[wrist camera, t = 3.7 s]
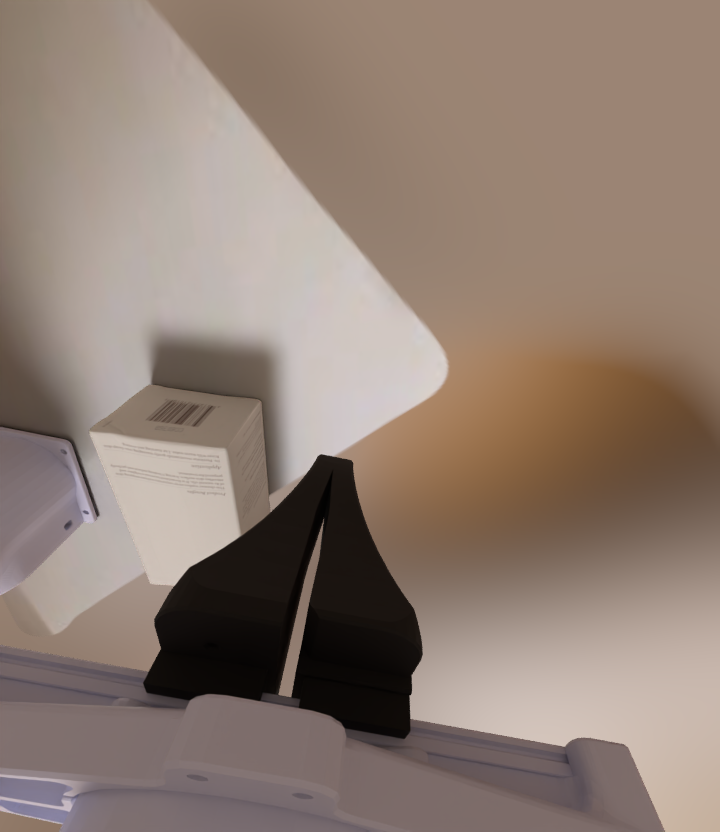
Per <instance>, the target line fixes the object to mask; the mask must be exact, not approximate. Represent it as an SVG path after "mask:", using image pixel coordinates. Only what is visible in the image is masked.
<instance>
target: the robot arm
mask: <svg viewBox="0 0 720 832" xmlns="http://www.w3.org/2000/svg"><path fill="white" fill-rule="evenodd" d="M323 519H324V524H323V532H322V541H321V550H320V558H319V562H318V566H317V571H316V575H315V580H314V584H313V589H312V593H311V597H310V602H309V607H308V612H307V618H306V624H305V629H304V635H303V640H302V645H301V650H300V654H299V659H298V664H297V669H296V674H295V680H294V686H293V691H292V697H286V696H280V695H278V693H279V689H280V685H281V680H282V675H283V671H284V667H285V662H286V658H287V653H288V649H289V645H290V640H291V635H292V631H293V627H294V623H295V618H296V614H297V609H298V605H299V601H300V597H301V592H302V588H303V584H304V579H305V576H306V572H307V569H308V565H309V562H310V559H311V556H312V553H313V550H314V547H315V544H316V541H317V538H318V535H319V532H320V529H321V526H322V523H323ZM96 520H97V516H96V513H95V510H94V507H93V504H92V501H91V499H90V496H89V493H88V490H87V487H86V484H85V481H84V478H83V476H82V473H81V470H80V467H79V464H78V461H77V458H76V455H75V453H74V450H73V447H72V444H71V443H70V442H69V441H67V440H65V439H60V438H55V437H50V436H45V435H40V434H35V433H29V432H24V431H19V430H14V429H9V428H4V427H0V595H2V594H4V593H5V592H7V591H9V590H11V589H13V588H14V587H16V586H17V585H19V584H20V583H21V582H23V581H24V580H25V579H27V578H28V577H29V576H30V575H31V574H32V573H33V572H34V571H35V570H36V569H37V568H38V567H39V566H40V565H41V564H42V563H43V562H44V561H45V560H46V559H47V558H48V557H49V556H50V555H51V554H52V553H53V552H54V551H55V550H56V549H57V548H58V547H59V546H60V545H61V544H62V543H63V542H64V541H65V540H66V539H67V538H68V537H69V536H70V535H71V534H72V533H73V532H74V531H75V530H76V529H77V528H78V527H79V526H80V525H81V524H82V523H83V522H87V523H94V522H95V521H96ZM154 620H155V621H154V622H155V629H156V632H157V636H158V639H159V643H160V646H161V650H160V652H159V654H158V656H157V657H156V659H155V661H154V663H153V665H152V667H151V669H150V671H149V672H147V671H141V670H136V669H130V668H125V667H120V666H114V665H108V664H103V663H97V662H92V661H86V660H81V659H75V658H70V657H64V656H59V655H53V654H48V653H42V652H36V651H31V650H26V649H20V648H14V647H9V646H3V645H0V811H4V812H8V813H13V814H17V815H22V816H27V817H31V818H36V819H40V820H45V821H50V822H54V823H59V824H63V825H62V827H61V828H60V831H59V832H665V830H664V828H663V826H662V824H661V821H660V819H659V817H658V815H657V812H656V810H655V808H654V805H653V803H652V801H651V799H650V797H649V794H648V792H647V790H646V787H645V785H644V783H643V781H642V778H641V776H640V774H639V772H638V769H637V767H636V765H635V762H634V760H633V758H632V756H631V753H630V751H629V749H628V747H626V746H625V745H624V744H619V743H614V742H608V741H603V740H597V739H591V738H577V739H574V740H572V741H570V742H569V743H568V744H567V745H566V746H565V747H562V746H557V745H551V744H546V743H540V742H535V741H529V740H524V739H518V738H513V737H507V736H502V735H496V734H491V733H485V732H479V731H474V730H468V729H463V728H457V727H451V726H446V725H440V724H435V723H430V722H424V721H418V720H413V719H410V701H409V700H410V698H409V695H411V693H412V677H411V675H412V674H413V672H414V671H415V669H416V667H417V666H418V664H419V662H420V661H421V658H422V655H423V653H422V641H421V635H420V630H419V626H418V621H417V618H416V614H415V611H414V609H413V607H412V606H411V604H410V603H409V602H408V600H407V599H406V597H405V596H404V594H403V593H402V592H401V590H400V588H399V587H398V585H397V584H396V582H395V581H394V579H393V577H392V576H391V574H390V572H389V570H388V569H387V567H386V565H385V563H384V561H383V559H382V557H381V556H380V554H379V552H378V550H377V548H376V545H375V543H374V541H373V539H372V537H371V534H370V532H369V529H368V527H367V524H366V522H365V519H364V516H363V513H362V510H361V506H360V503H359V499H358V495H357V491H356V486H355V480H354V473H353V462H352V461H351V460H347V459H342V458H337V457H332V456H327V455H322V454H321V455H319V456H318V457H317V459H316V461H315V462H314V464H313V466H312V467H311V468H310V470H309V471H308V473H307V474H306V475H305V476H304V478H303V479H302V480H301V481H300V482H299V484H298V485H297V486H296V487H295V488H294V490H293V491H292V492H291V493H290V494H289V495H288V496H287V497H286V498H285V499H284V500H283V501H282V502H281V503H280V504H279V505H278V506H277V507H276V508H275V509H274V510H273V511H272V512H270V513H269V514H268V515H267V516H266V517H265V518H264V519H262V520H261V521H260V522H259V523H257V524H256V525H255V526H254V527H252V528H251V529H250V530H248V531H247V532H246V533H244V534H243V535H242V536H240V537H239V538H237V539H236V540H234V541H233V542H231V543H230V544H228V545H227V546H225V547H224V548H222V549H220V550H219V551H217V552H216V553H214V554H212V555H210V556H209V557H207V558H205V559H203V560H202V561H200V562H198V563H196V564H194V565H193V566H191V567H189V568H188V570H187V571H186V572H185V573H184V574H183V576H182V577H181V578H180V579H179V581H178V582H177V583H176V585H175V586H174V587H173V589H172V590H171V592H170V593H169V595H168V596H167V598H166V600H165V602H164V603H163V605H162V607H161V608H160V610H159V612H158V614H157V615H156V617H155V619H154Z"/></svg>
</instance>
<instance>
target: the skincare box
mask: <svg viewBox="0 0 720 832" xmlns="http://www.w3.org/2000/svg"><path fill="white" fill-rule="evenodd" d="M89 434H90V436H91V439H92V441H93V444H94V446H95V448H96V451H97V453H98V456H99V458H100V461H101V463H102V466H103V468H104V471H105V473H106V476H107V478H108V480H109V483H110V485H111V488H112V490H113V493H114V495H115V497H116V500H117V502H118V505H119V507H120V510H121V512H122V514H123V517H124V519H125V522H126V525H127V527H128V529H129V532H130V535H131V537H132V539H133V542H134V544H135V547H136V549H137V552H138V554H139V557H140V559H141V562H142V564H143V567H144V569H145V571H146V574H147V576H148V580H149V583H151V584H159V585H174V586H175V585H176V583H177V582H178V581H179V579H180V578H181V577H182V576H183V574H184V573H185V572H186V571H187V570H188V568H189V567H191V566H193V565H194V564H196V563H198V562H200V561H202V560H203V559H205V558H207V557H209V556H210V555H212V554H214V553H216V552H217V551H219V550H220V549H222V548H224V547H225V546H227V545H228V544H230V543H231V542H233V541H234V540H236V539H237V538H239V537H240V536H242V535H243V534H244V533H246V532H247V531H248V530H250V529H251V528H252V527H254V526H255V525H256V524H257V523H259V522H260V521H261V520H262V519H264V518H265V517H266V516H267V515H268V514H269V513H270V504H269V492H268V479H267V467H266V452H265V440H264V429H263V415H262V403H261V401H260V400H258V399H254V398H243V397H232V396H222V395H214V394H208V393H201V392H195V391H188V390H181V389H174V388H167V387H163V386H158V385H148V386H146V387H145V388H144V389H142V390H141V391H140V392H138V393H137V394H136V395H134V396H133V397H132V398H130V399H129V400H128V401H127V402H125V403H124V404H123V405H122V406H121V407H119V408H118V409H117V410H116V411H114V412H113V413H112V414H110V415H109V416H108V417H106V418H104V419H103V420H101V421H100V422H98V423H97V424H96V425H94V426H93V427H92V428H91V429H90V430H89Z"/></svg>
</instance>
